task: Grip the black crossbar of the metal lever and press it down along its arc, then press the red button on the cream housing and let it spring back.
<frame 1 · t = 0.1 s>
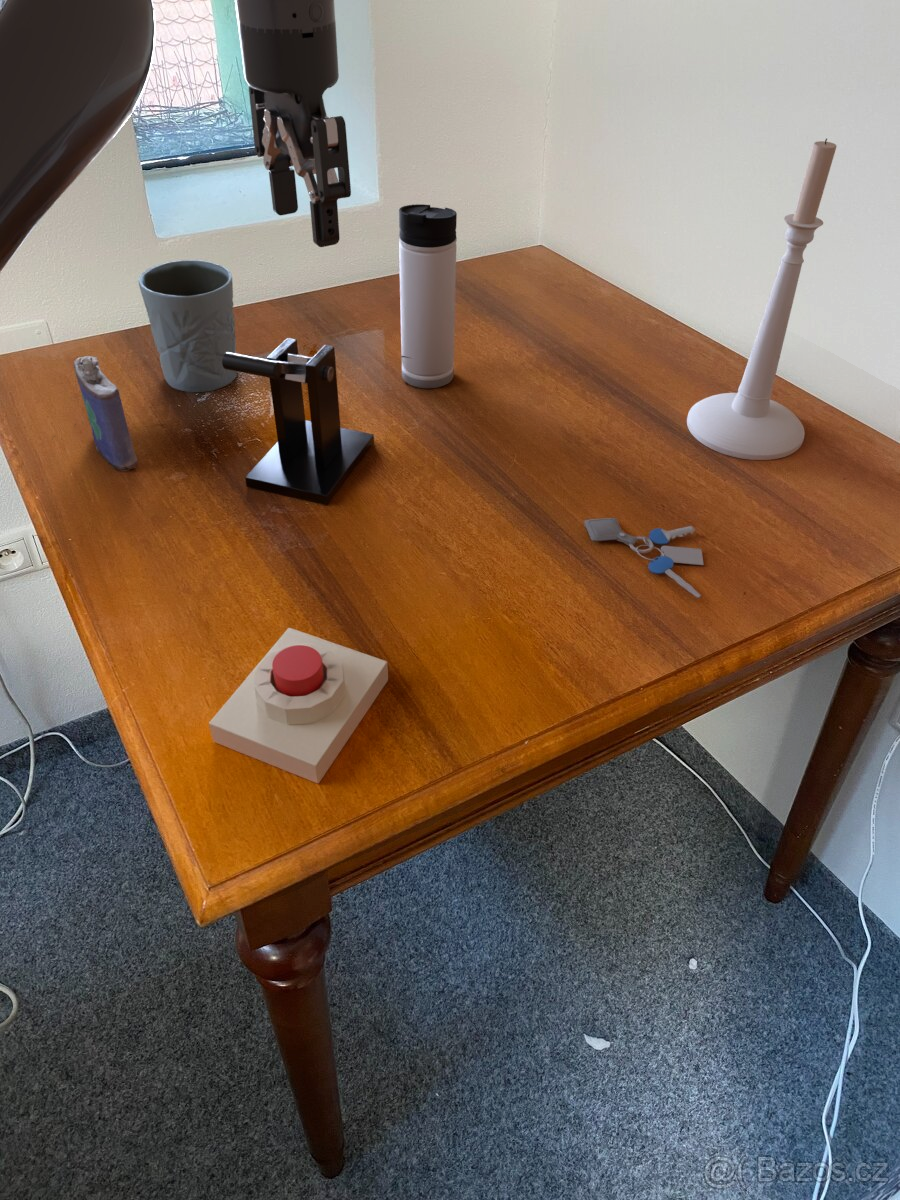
hand: (305, 228, 79), 23 cm above the table, tool pointing down, fingers open, 8 cm apart
lever: (280, 367, 80), point 13 cm above the table, hinge at 28.0°
button: (298, 670, 64), point 4 cm above the table, slide at 0.1 cm
grey hollow tapered cylinder: (204, 376, 106), on the table
blue squeeze pouch: (114, 452, 93), on the table
key chain: (656, 547, 83), on the table
candlestick: (743, 430, 99), on the table
bracket: (312, 464, 92), on the table
travel mug: (427, 378, 106), on the table
button box: (304, 710, 67), on the table
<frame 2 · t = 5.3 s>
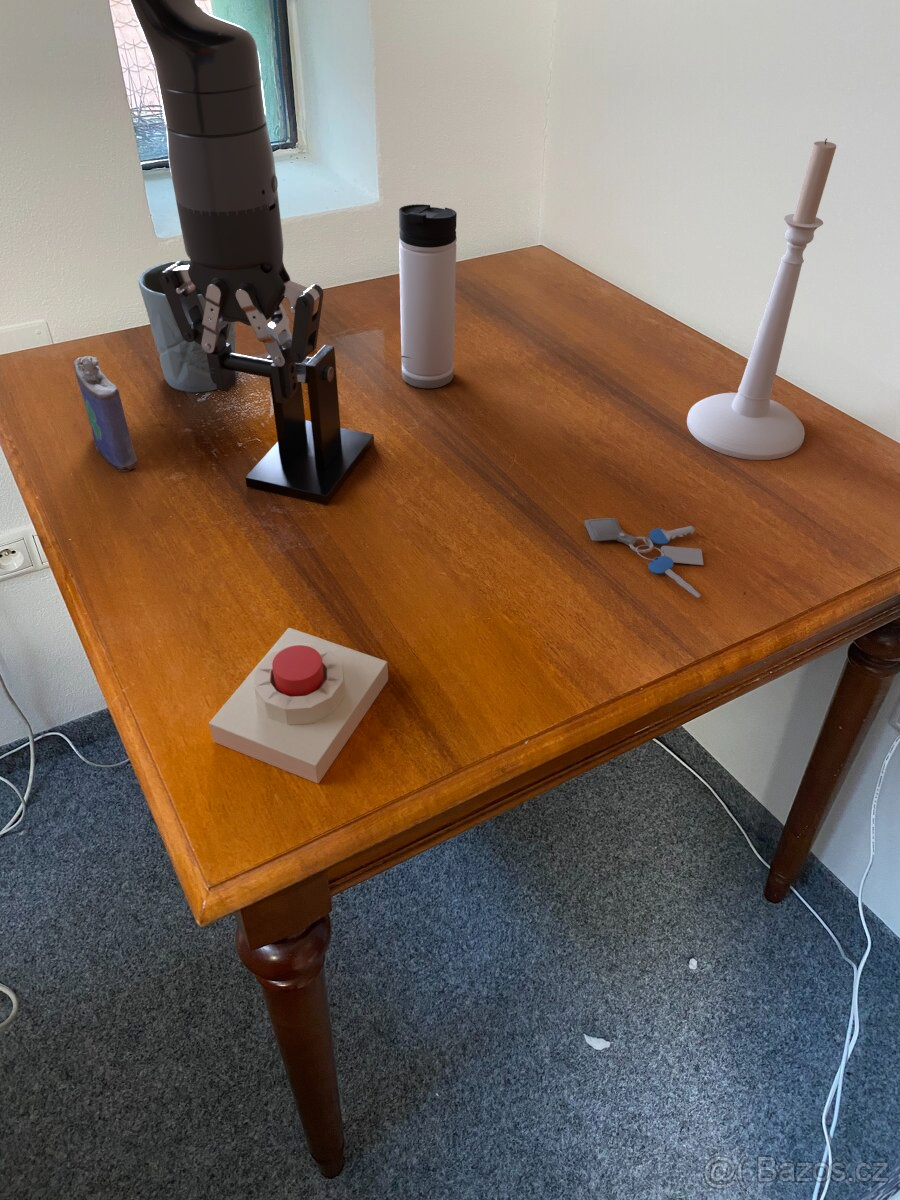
hand: (256, 392, 77), 13 cm above the table, tool pointing down, fingers closed on lever, 5 cm apart
lever: (280, 367, 80), point 13 cm above the table, hinge at 28.0°, touching gripper
everything else where it was.
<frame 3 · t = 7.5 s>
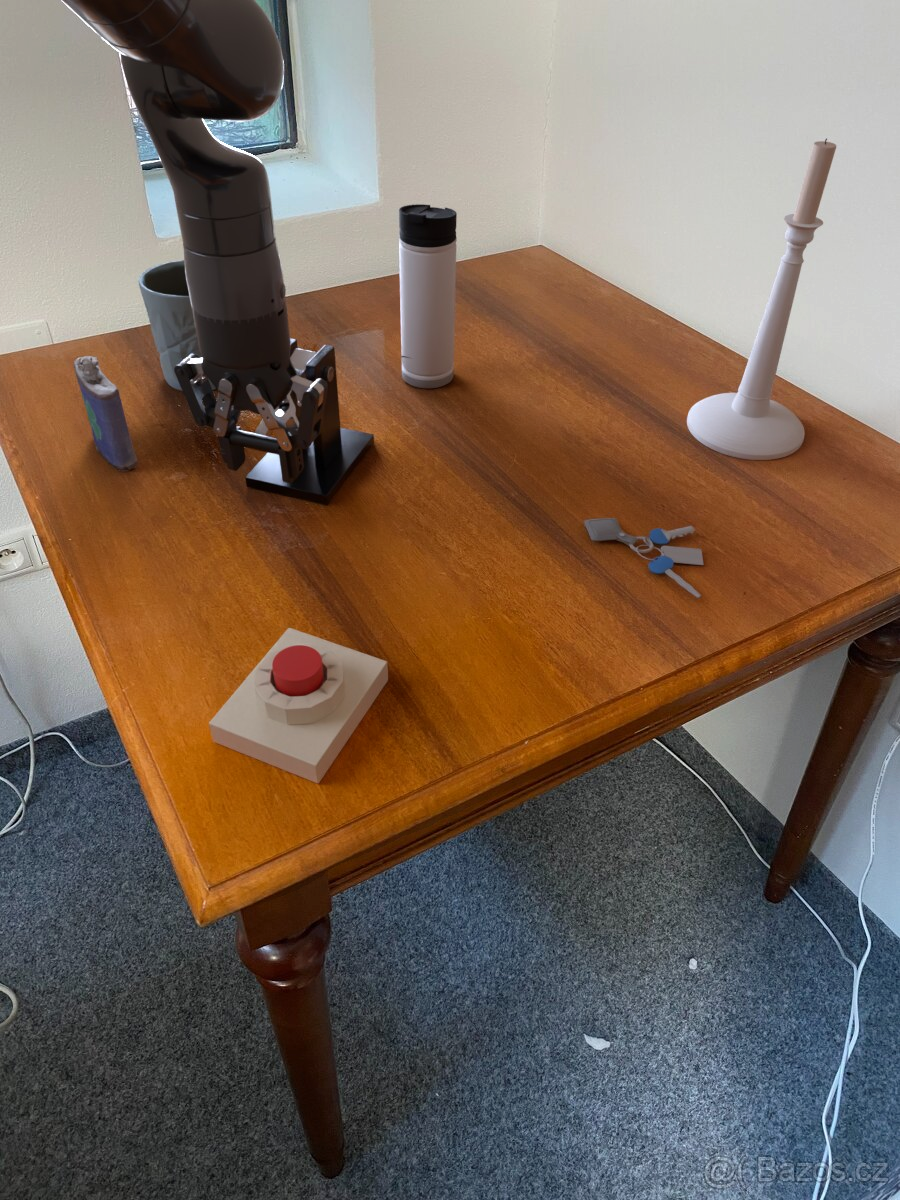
hand: (264, 471, 82), 5 cm above the table, tool pointing down, fingers closed on lever, 5 cm apart
lever: (282, 401, 82), point 10 cm above the table, hinge at -14.3°, touching gripper
everything else where it was.
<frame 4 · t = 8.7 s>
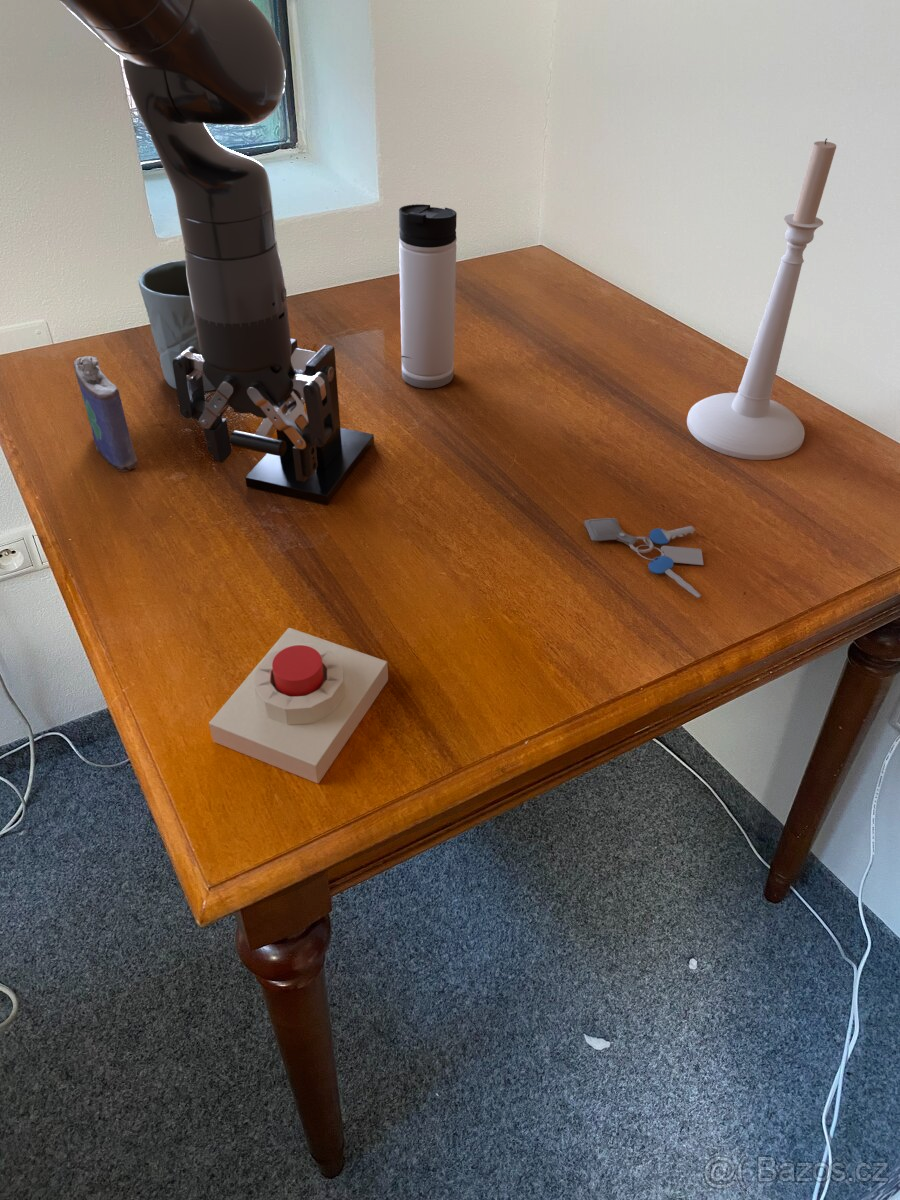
hand: (264, 467, 82), 6 cm above the table, tool pointing down, fingers open, 8 cm apart
lever: (282, 402, 82), point 10 cm above the table, hinge at -15.2°
everything else where it was.
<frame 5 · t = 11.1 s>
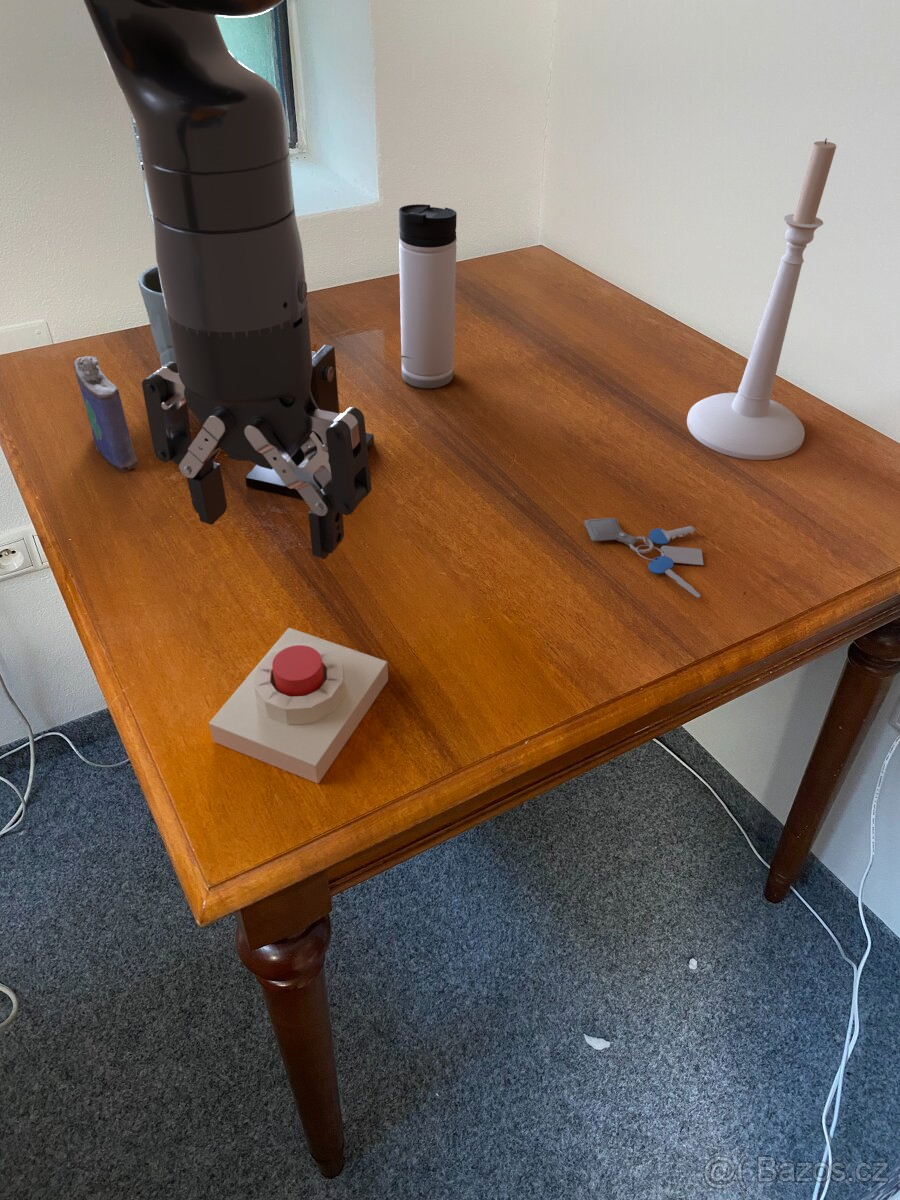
hand: (269, 534, 58), 16 cm above the table, tool pointing down, fingers open, 8 cm apart
nothing on the table moved.
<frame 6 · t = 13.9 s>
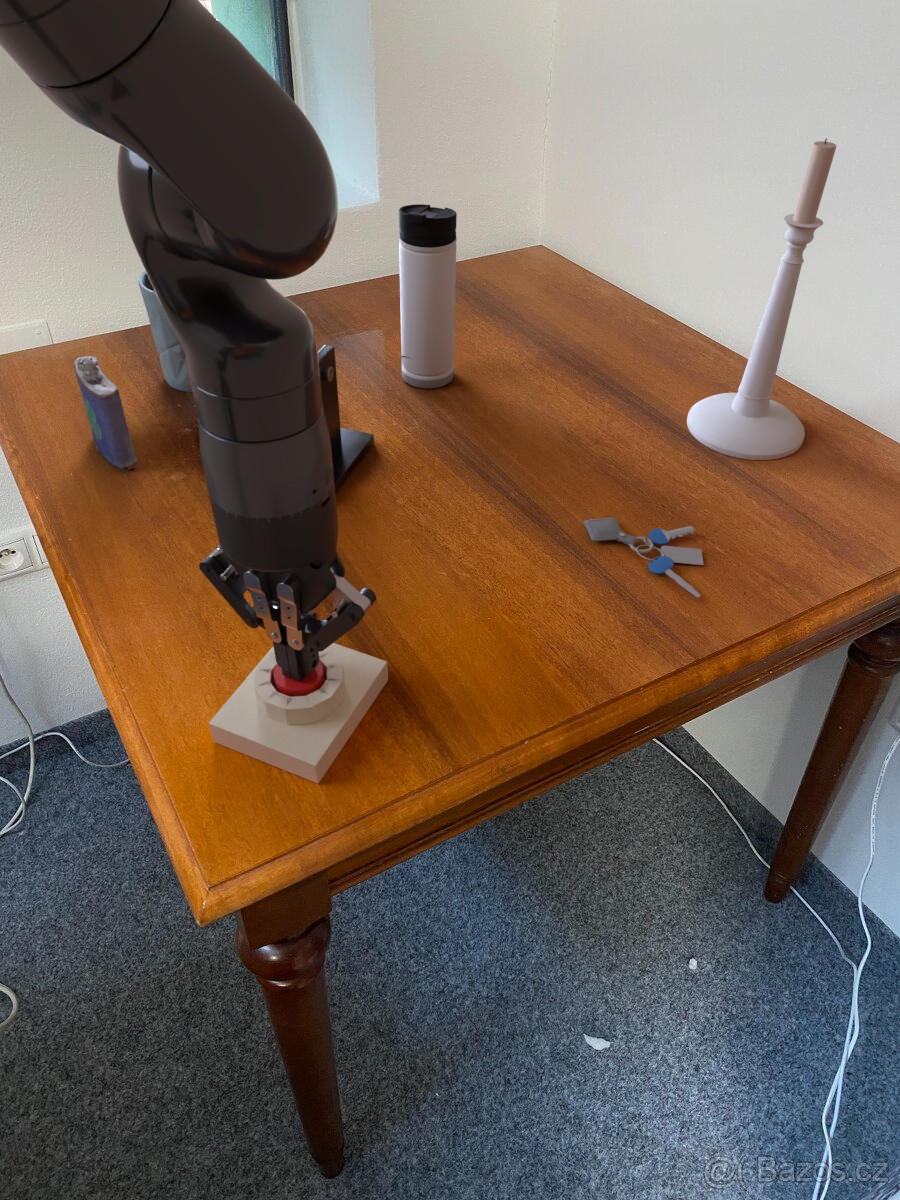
hand: (299, 671, 64), 4 cm above the table, tool pointing down, fingers closed
button: (299, 679, 65), point 4 cm above the table, slide at -0.9 cm, touching gripper
everything else where it was.
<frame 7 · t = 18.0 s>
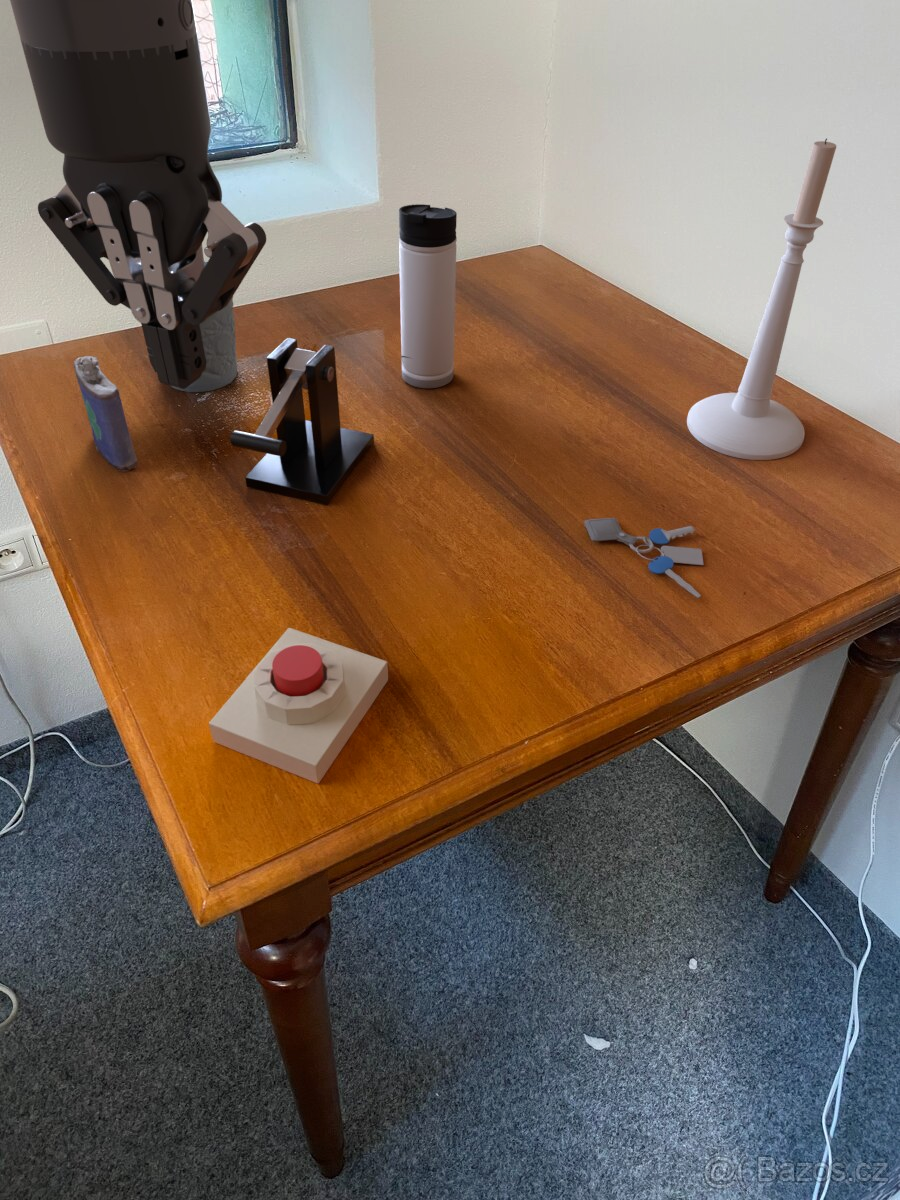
hand: (182, 380, 50), 27 cm above the table, tool pointing down, fingers closed
button: (298, 670, 64), point 4 cm above the table, slide at 0.1 cm
everything else where it was.
at the end: lever at -15° (first picture: +28°); button pushed in 1.1 cm at the most during the clip, back to where it started at the end; button slide at 0.1 cm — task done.
